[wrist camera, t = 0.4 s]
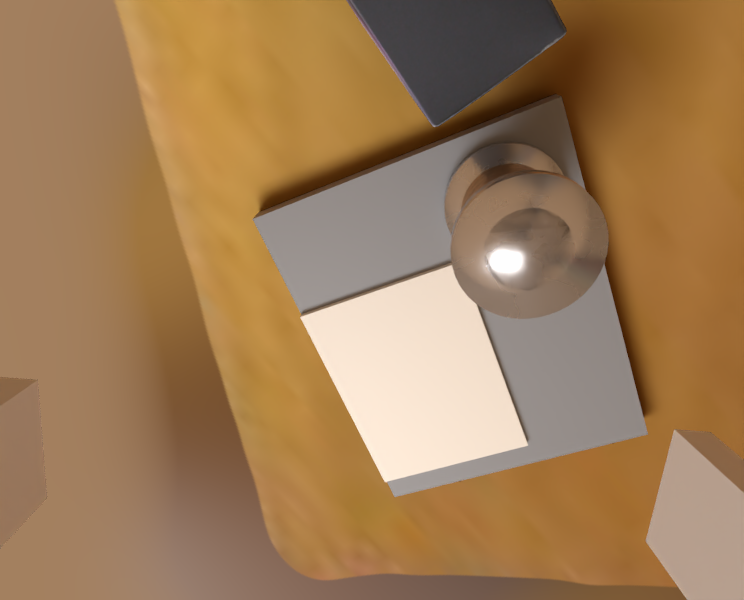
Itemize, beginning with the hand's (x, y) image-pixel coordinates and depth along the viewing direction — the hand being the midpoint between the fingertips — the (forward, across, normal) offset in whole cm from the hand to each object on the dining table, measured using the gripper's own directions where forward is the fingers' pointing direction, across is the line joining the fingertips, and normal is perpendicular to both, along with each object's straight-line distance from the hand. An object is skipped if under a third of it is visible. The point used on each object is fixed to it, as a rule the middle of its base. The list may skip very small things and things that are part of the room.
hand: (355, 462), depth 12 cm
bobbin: (+22, +8, +4) cm, 24 cm away
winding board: (+26, +7, -4) cm, 27 cm away
